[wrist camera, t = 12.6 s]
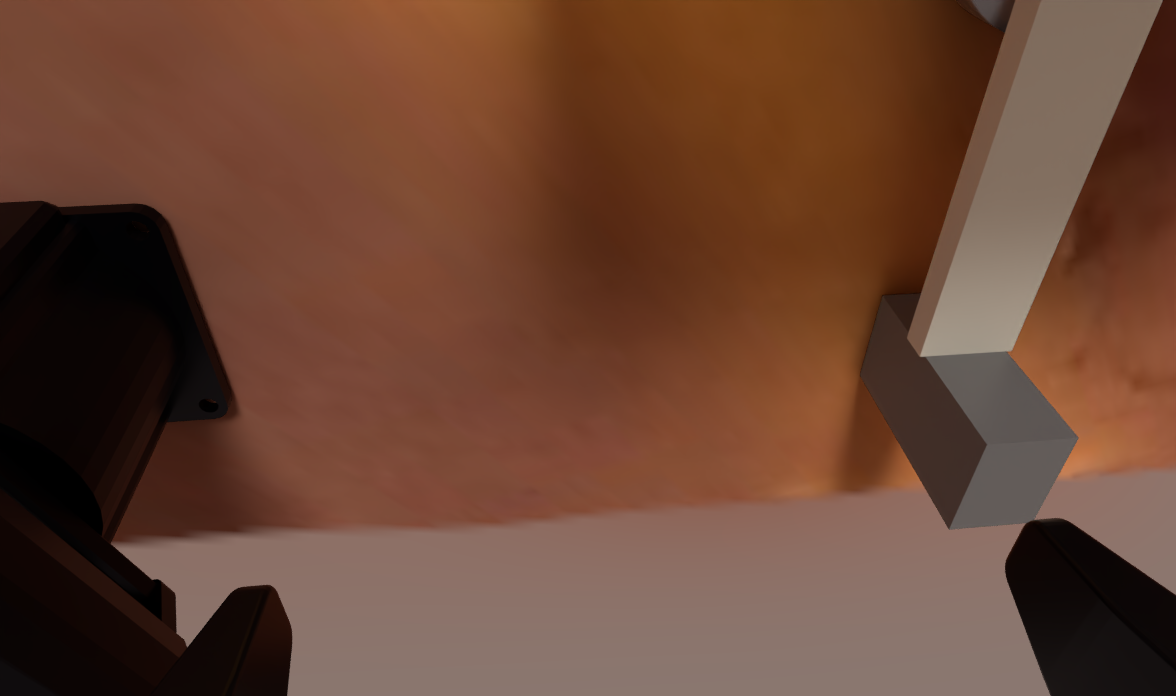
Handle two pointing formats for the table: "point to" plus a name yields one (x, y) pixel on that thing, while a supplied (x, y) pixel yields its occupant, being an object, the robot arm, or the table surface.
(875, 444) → the table surface
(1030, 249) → the grey mallet
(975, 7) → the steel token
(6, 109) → the table surface
